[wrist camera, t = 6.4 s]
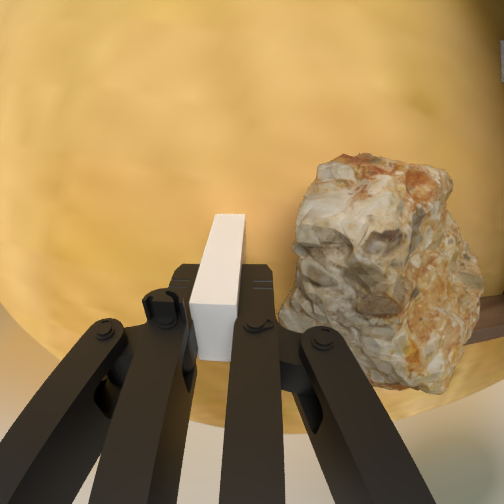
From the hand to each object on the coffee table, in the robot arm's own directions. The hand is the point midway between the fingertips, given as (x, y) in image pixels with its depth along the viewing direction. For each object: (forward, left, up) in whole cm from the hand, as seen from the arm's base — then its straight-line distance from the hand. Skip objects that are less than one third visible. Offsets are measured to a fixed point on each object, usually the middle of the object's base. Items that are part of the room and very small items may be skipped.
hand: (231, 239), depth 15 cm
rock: (0, +8, -2) cm, 8 cm away
